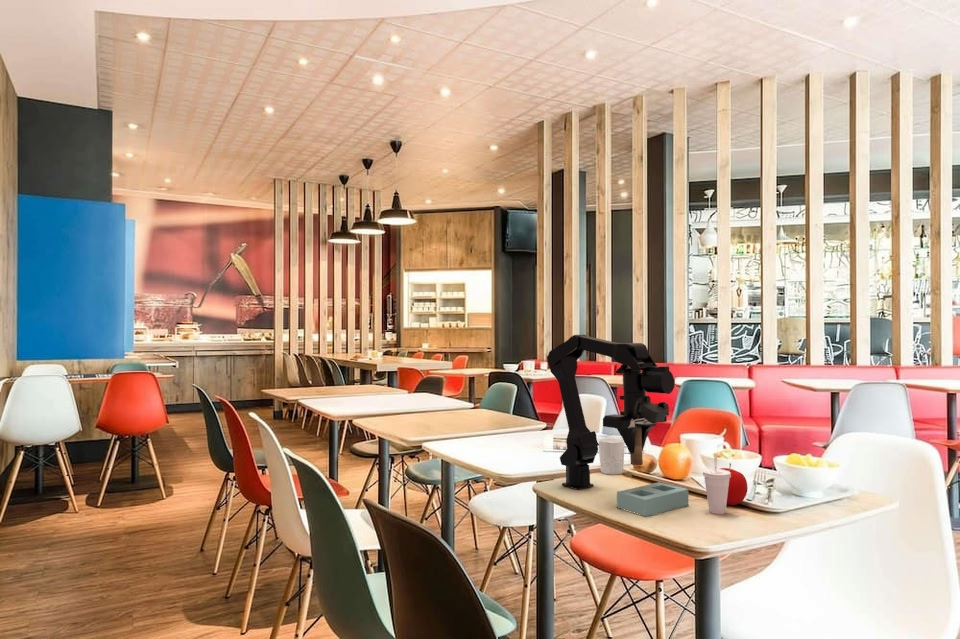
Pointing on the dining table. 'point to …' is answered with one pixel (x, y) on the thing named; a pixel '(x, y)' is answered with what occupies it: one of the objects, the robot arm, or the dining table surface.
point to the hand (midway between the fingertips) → (636, 452)
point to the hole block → (652, 498)
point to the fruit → (736, 487)
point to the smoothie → (717, 488)
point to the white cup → (611, 455)
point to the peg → (637, 448)
